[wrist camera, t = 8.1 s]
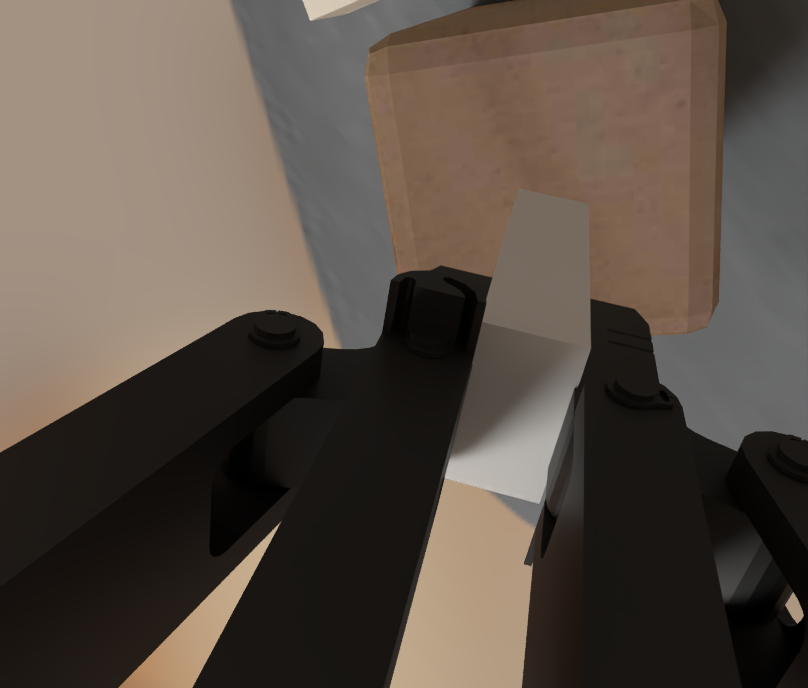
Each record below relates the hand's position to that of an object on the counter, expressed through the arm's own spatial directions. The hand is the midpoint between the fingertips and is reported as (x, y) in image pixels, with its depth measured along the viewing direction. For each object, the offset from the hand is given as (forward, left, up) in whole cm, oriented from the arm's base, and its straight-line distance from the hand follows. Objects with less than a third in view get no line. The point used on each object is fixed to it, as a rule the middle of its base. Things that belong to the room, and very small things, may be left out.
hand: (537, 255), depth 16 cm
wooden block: (0, 0, -26) cm, 26 cm away
